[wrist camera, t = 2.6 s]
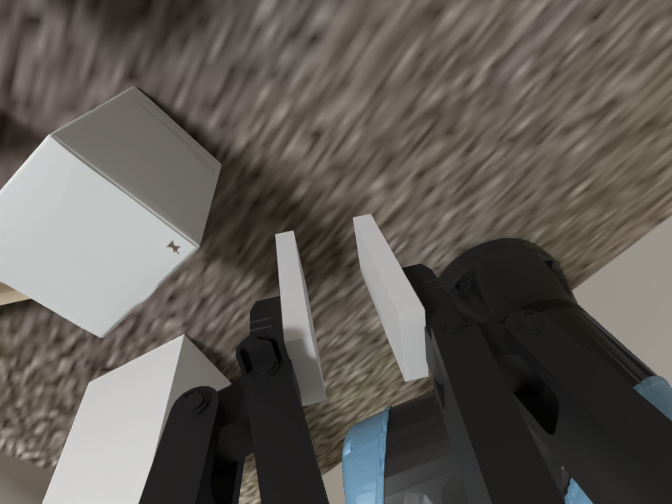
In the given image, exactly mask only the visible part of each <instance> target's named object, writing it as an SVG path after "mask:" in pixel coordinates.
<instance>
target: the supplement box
mask: <svg viewBox="0 0 672 504" xmlns="http://www.w3.org/2000/svg"><path fill="white" fill-rule="evenodd" d="M221 166H222V165H221V163H220V162H219V161H217V160H216V159H215V158H214V157H213V156H212V155H211V154H210V153H209V152H208V151H206V150H205V149H204V148H203V147H202V146H201V145H200V144H199V143H198V142H196V141H195V140H194V139H193V138H192V137H191V136H190V135H189V134H188V133H187V132H185V131H184V130H183V129H182V128H181V127H180V126H179V125H178V124H177V123H176V122H174V121H173V120H172V119H171V118H170V117H169V116H168V115H167V114H166V113H165V112H163V111H162V110H161V109H160V108H159V107H158V106H157V105H156V104H155V103H153V102H152V101H151V100H150V99H149V98H148V97H147V96H146V95H144V94H143V93H142V92H141V91H140V90H139V89H137V88H136V87H134V86H133V87H131V88H129V89H128V90H126V91H124V92H122V93H121V94H119V95H117V96H116V97H114V98H112V99H110V100H109V101H107V102H105V103H103V104H102V105H100V106H98V107H96V108H95V109H93V110H91V111H89V112H87V113H86V114H84V115H82V116H80V117H78V118H77V119H75V120H73V121H71V122H70V123H68V124H66V125H64V126H63V127H61V128H59V129H57V130H56V131H54V132H53V133H51V134H49V135H48V136H47V137H46V138H45V139H44V141H43V142H42V143H41V144H40V145H39V146H38V148H37V149H36V150H35V151H34V152H33V153H32V154H31V156H30V157H29V158H28V159H27V160H26V161H25V162H24V164H23V165H22V166H21V167H20V168H19V169H18V171H17V172H16V173H15V174H14V175H13V176H12V178H11V179H10V180H9V181H8V182H7V183H6V185H5V186H4V187H3V188H2V189H1V190H0V282H2V283H4V284H6V285H8V286H10V287H12V288H14V289H15V290H17V291H19V292H20V293H22V294H24V295H26V296H28V297H29V298H31V299H33V300H35V301H36V302H38V303H40V304H42V305H43V306H45V307H47V308H49V309H50V310H52V311H54V312H56V313H57V314H59V315H61V316H62V317H64V318H66V319H67V320H69V321H71V322H73V323H75V324H76V325H78V326H80V327H82V328H83V329H85V330H87V331H89V332H91V333H93V334H95V335H96V336H98V337H101V338H103V337H105V336H106V335H108V334H109V333H110V332H111V331H112V330H113V329H114V328H115V327H116V326H117V325H118V324H119V323H120V322H121V321H122V320H124V319H125V318H126V317H127V316H128V315H129V314H130V313H131V312H132V311H133V310H134V309H135V308H136V307H138V306H139V305H140V304H141V303H142V302H143V301H145V300H146V299H147V298H148V297H150V296H151V295H152V294H153V292H154V291H155V290H156V289H157V288H158V287H159V286H160V285H161V284H162V283H163V282H164V281H165V280H166V279H167V278H168V277H169V276H171V275H172V274H173V273H174V272H175V271H176V270H177V269H178V268H179V267H180V266H181V265H182V264H184V263H185V262H186V261H187V260H188V259H189V258H190V257H191V256H192V255H193V254H194V253H195V252H196V251H197V250H198V249H199V248H200V244H201V240H202V236H203V233H204V229H205V225H206V222H207V218H208V214H209V211H210V207H211V203H212V200H213V196H214V192H215V189H216V185H217V181H218V177H219V173H220V170H221Z"/></svg>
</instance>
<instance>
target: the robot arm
mask: <svg viewBox="0 0 672 504" xmlns="http://www.w3.org/2000/svg"><path fill="white" fill-rule="evenodd" d="M353 221H354V228H355V235H356V242H357V248H358V255H359V262H360V269H361V273H362V275H363V278H364V280H365V283H366V285H367V288H368V290H369V293H370V295H371V298H372V300H373V303H374V305H375V308H376V310H377V313H378V315H379V318H380V320H381V323H382V325H383V328H384V330H385V333H386V335H387V338H388V340H389V342H390V345H391V347H392V350H393V352H394V355H395V357H396V360H397V362H398V365H399V367H400V370H401V372H402V375H403V377H404V380H405V382H407V381H411V380H415V379H419V378H423V377H427V376H428V366H429V368H430V370H431V372H432V374H433V377H434V391H432V392H429V393H427V394H424V395H422V396H419V397H417V398H414V399H411V400H409V401H406V402H404V403H401V404H399V405H396V406H394V407H392V406H388V407H386V408H385V410H384V411H382V412H380V413H378V414H375V415H373V416H371V417H369V418H367V419H364V420H362V421H360V422H358V423H356V424H355V425H354V426H353V427H351V429H350V430H349V431H348V433H347V435H346V437H345V440H344V445H343V452H342V472H343V485H344V493H345V500H346V504H672V388H671V387H670V385H669V384H668V382H667V381H666V380H665V379H664V378H663V377H661V376H658V375H657V374H655V373H654V372H653V371H652V370H651V369H650V368H649V367H648V366H646V365H645V364H644V363H643V362H642V361H641V360H640V359H639V358H638V357H636V356H635V355H634V354H633V353H632V352H631V351H630V350H628V349H627V348H626V347H625V346H624V345H623V344H622V343H621V342H620V341H618V340H617V339H616V338H615V337H614V336H613V335H612V334H611V333H609V332H608V331H607V330H606V329H605V328H604V327H603V326H602V325H600V324H599V323H598V322H597V321H596V320H595V319H594V318H593V317H591V316H590V315H589V314H588V313H587V312H586V311H585V310H584V309H582V308H581V307H580V306H579V305H578V303H577V301H576V299H575V297H574V295H573V293H572V291H571V289H570V286H569V284H568V282H567V280H566V278H565V276H564V274H563V272H562V270H561V268H560V267H559V265H558V264H557V262H556V261H555V260H554V259H553V258H552V257H551V256H550V255H548V254H547V253H546V252H545V251H544V250H542V249H541V248H540V247H539V246H537V245H535V244H533V243H531V242H529V241H526V240H522V239H514V238H506V239H498V240H493V241H489V242H486V243H483V244H480V245H478V246H476V247H474V248H472V249H470V250H468V251H466V252H465V253H463V254H462V255H460V256H459V257H458V258H456V259H455V260H454V261H453V262H452V263H451V264H450V265H449V266H448V267H447V268H446V269H445V270H444V271H443V272H442V274H441V275H440V276H439V278H438V279H437V277H436V276H435V274H434V273H433V271H432V270H431V269H429V268H428V267H426V266H424V265H423V264H417V265H412V266H408V267H403V268H401V267H400V265H399V263H398V261H397V260H396V258H395V256H394V254H393V253H392V251H391V249H390V247H389V246H388V244H387V242H386V240H385V239H384V237H383V235H382V233H381V231H380V230H379V228H378V226H377V224H376V223H375V221H374V219H373V217H372V216H371V214H368V215H364V216H359V217H354V218H353ZM275 236H276V248H277V260H278V272H279V284H280V296H278V297H273V298H269V299H264V300H260V301H256V302H255V304H254V306H253V308H252V309H251V311H250V336H248V337H247V338H245V339H244V340H243V341H242V342H241V343H240V344H239V346H238V347H237V349H236V358H237V361H238V363H239V366H240V368H241V371H242V374H243V375H242V376H241V377H240V378H239V379H238V380H237V381H236V382H234V383H232V384H231V385H229V386H227V387H225V388H223V389H221V390H219V391H216V390H215V389H214V388H212V387H210V386H199V387H195V388H192V389H190V390H188V391H186V392H185V393H183V394H182V395H181V396H180V397H179V398H178V399H177V400H176V401H175V402H174V404H173V406H172V408H171V410H170V413H169V416H168V419H167V422H166V425H165V428H164V431H163V434H162V436H161V439H160V442H159V445H158V448H157V451H156V454H155V457H154V460H153V463H152V466H151V468H150V471H149V474H148V477H147V480H146V483H145V486H144V489H143V492H142V495H141V498H140V500H139V503H138V504H238V502H239V495H240V488H241V481H242V474H243V467H244V460H245V458H244V457H246V456H248V455H250V454H251V453H253V452H254V455H255V462H256V469H257V476H258V483H259V490H260V497H261V504H329V501H328V498H327V494H326V490H325V487H324V483H323V480H322V476H321V473H320V469H319V466H318V462H317V459H316V455H315V451H314V448H313V444H312V441H311V437H310V434H309V430H308V427H307V423H306V420H305V416H304V413H303V409H302V404H303V406H307V405H311V404H315V403H319V402H324V401H327V398H326V392H325V387H324V381H323V376H322V370H321V365H320V359H319V354H318V348H317V343H316V337H315V332H314V326H313V320H312V315H311V309H310V304H309V298H308V293H307V287H306V282H305V278H304V274H303V269H302V265H301V261H300V257H299V252H298V248H297V244H296V239H295V235H294V231H289V232H284V233H279V234H275Z"/></svg>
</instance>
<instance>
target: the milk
mask: <svg viewBox="0 0 672 504" xmlns="http://www.w3.org/2000/svg"><path fill="white" fill-rule="evenodd" d="M229 385H231V382H230V381H229V380H228V379H227V378H226V377H225V376H224V375H223V374H222V373H221V372H220V371H219V370H218V369H217V368H216V367H215V366H214V365H213V364H212V363H211V362H210V361H209V360H208V358H207V357H206V356H205V355H204V354H203V353H202V352H201V351H200V350H199V349H198V348H197V347H196V346H195V345H194V344H193V343H192V342H191V341H190V340H189V339H188V338H187V337H186V335H185V334H184V335H182V336H180V337H178V338H176V339H174V340H172V341H170V342H168V343H166V344H164V345H162V346H160V347H158V348H156V349H154V350H152V351H150V352H148V353H146V354H144V355H142V356H140V357H138V358H136V359H134V360H132V361H131V362H129V363H127V364H125V365H123V366H121V367H119V368H117V369H115V370H113V371H111V372H109V373H107V374H105V375H103V376H101V377H99V378H97V379H95V380H93V381H91V382H89V384H88V387H87V389H86V392H85V394H84V397H83V400H82V402H81V405H80V407H79V410H78V413H77V415H76V418H75V420H74V423H73V426H72V428H71V431H70V433H69V436H68V438H67V441H66V444H65V446H64V449H63V451H62V454H61V457H60V459H59V462H58V464H57V467H56V470H55V472H54V475H53V477H52V480H51V482H50V485H49V488H48V490H47V493H46V496H45V498H44V501H43V503H42V504H138V503H139V500H140V498H141V495H142V492H143V489H144V486H145V483H146V480H147V477H148V474H149V471H150V468H151V466H152V463H153V460H154V457H155V454H156V451H157V448H158V445H159V442H160V439H161V436H162V434H163V431H164V428H165V425H166V422H167V419H168V416H169V413H170V410H171V408H172V406H173V404H174V402H175V401H176V400H177V399H178V398H179V397H180V396H181V395H182V394H183V393H185V392H186V391H188V390H190V389H192V388H195V387H199V386H210V387H212V388H214V389H215V390H216V391H219V390H221V389H223V388H225V387H227V386H229Z"/></svg>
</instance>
